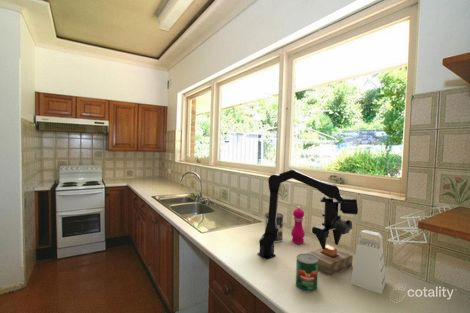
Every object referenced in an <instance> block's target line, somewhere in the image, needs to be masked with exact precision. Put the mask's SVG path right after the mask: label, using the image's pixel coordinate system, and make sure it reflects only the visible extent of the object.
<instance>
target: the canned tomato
mask: <svg viewBox="0 0 470 313" xmlns="http://www.w3.org/2000/svg"><path fill="white" fill-rule="evenodd" d="M295 265H296V266H295V268H296V269H295V270H296V271H295V273H296V274H295V287H296V288H297V289H298V290H299V291H302V292H303V293H315V292H316V291H317V290H318V280H319V279H318V278H319V276H318V274H319V273H318V272H319V270H318V258H317V257H316V256H314V255H311V254H307V253H299V254H297V255H296V264H295Z"/></svg>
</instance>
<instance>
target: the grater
mask: <svg viewBox="0 0 470 313" xmlns="http://www.w3.org/2000/svg"><path fill="white" fill-rule="evenodd" d="M362 233H366V234H369V235H373V236H378V237H379V241H376V240H371V239H366V238H361V237H362ZM356 244H357V245H356V250H355V255H354V260H353V265H352V272H351V278H350V284H351V285H354V286H356V287H360V288H362V289H366V290H369V291H371V292H374V293H377V294H381V295H382V294H383V290H384V288H385V286H386V282H387V277H386V268H385V265H386V264H385V256H384V255H385V254H384V245H383V236H382V234H381V233H380V232H376V231H371V230H367V229H363V230H361V231H360V232H359V234H358V242H357V243H356ZM366 244H367V245H366Z"/></svg>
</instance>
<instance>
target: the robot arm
mask: <svg viewBox="0 0 470 313" xmlns="http://www.w3.org/2000/svg"><path fill="white" fill-rule="evenodd" d="M267 179H268V180H267V181H268V189H269V203H268V204H269V205H268V213H269V214H268V223H267V226H266V230H265V229H264V233H263V234H262V235H261V237H260V239H259V240H258V241H259V242H258V243H259V252H257V255H258V256H260V257H262V258H263V259H265V260H268V259H271V258H274V257H276V256H277V255H276V254H275V242H274V241H275V240H276V238H278V235H279V227H280V225H277V222H276V219H277V213H278V205H279V194H280V189H281V187H282V183H284V182H286V181H289V180H292V179H294V180H295V181H297V182H300V183H302V184H305V185H306V186H309V187H311V188H314V189H316V190H318V191H319V192H320V193H321V194H323V197H322V198H320V203H324V213H321V216H322V217H323V222H322V223H321V225H316V226H313V227H311V234H313V235H315V236H316V238H317V240H318V243H319V245H320V246H321V247H320V248H322V249H325V246H326V245H327V239H328V238H329V237H330V235H329V234H330V231H331V232H332V236H333V240H334V244H335V245H337V246H338V245H339V243H340V240H341V237H342V235H346V234H349V233H350V231H351V230H352V229H353V221H351V219H348V220H346V221H345V220H343V219H342V218H341V217H342V216H341V214H345V215H354V216H357V215H358V214H359V212H358V211H359V208H358V199H357V198H355V197H354V198H353V197H352V198H348V197H347V198H345V197H343V195H341V194H340V189H339V187H338V186H337V185H336V184H335V183H332V182H328V181H322V180H319V179H316V178H314V177H311V176H309V175H307V174H305V173H302V172H301V171H298V170H296V169H295V168H291V169H289V170H287V171H284V172H281V173H273V174H271V175H270V176H269V177H268V178H267ZM334 199H335V200H334ZM339 211H340V212H341V214H339Z"/></svg>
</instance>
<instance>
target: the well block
mask: <svg viewBox="0 0 470 313" xmlns="http://www.w3.org/2000/svg"><path fill="white" fill-rule="evenodd" d="M336 249H337V257H336V258H331V257H329V256H326V255H324V254H323V249H322V247H320V248H318V249H315V250H313V251H308V252H306V254H311V255H314V256H316V257H317V258H318V272H321V273H323V274H325V275H327V276H329V277H331V276H333V275H335V274H337V273H340V272H342V271H345V270H346V269H348V268H351V267H353V261H354V260H353V258H354V257H353V256H354V255H353V254H351V253H349V252H346V251H343V250H341V249H339V248H336Z"/></svg>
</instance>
